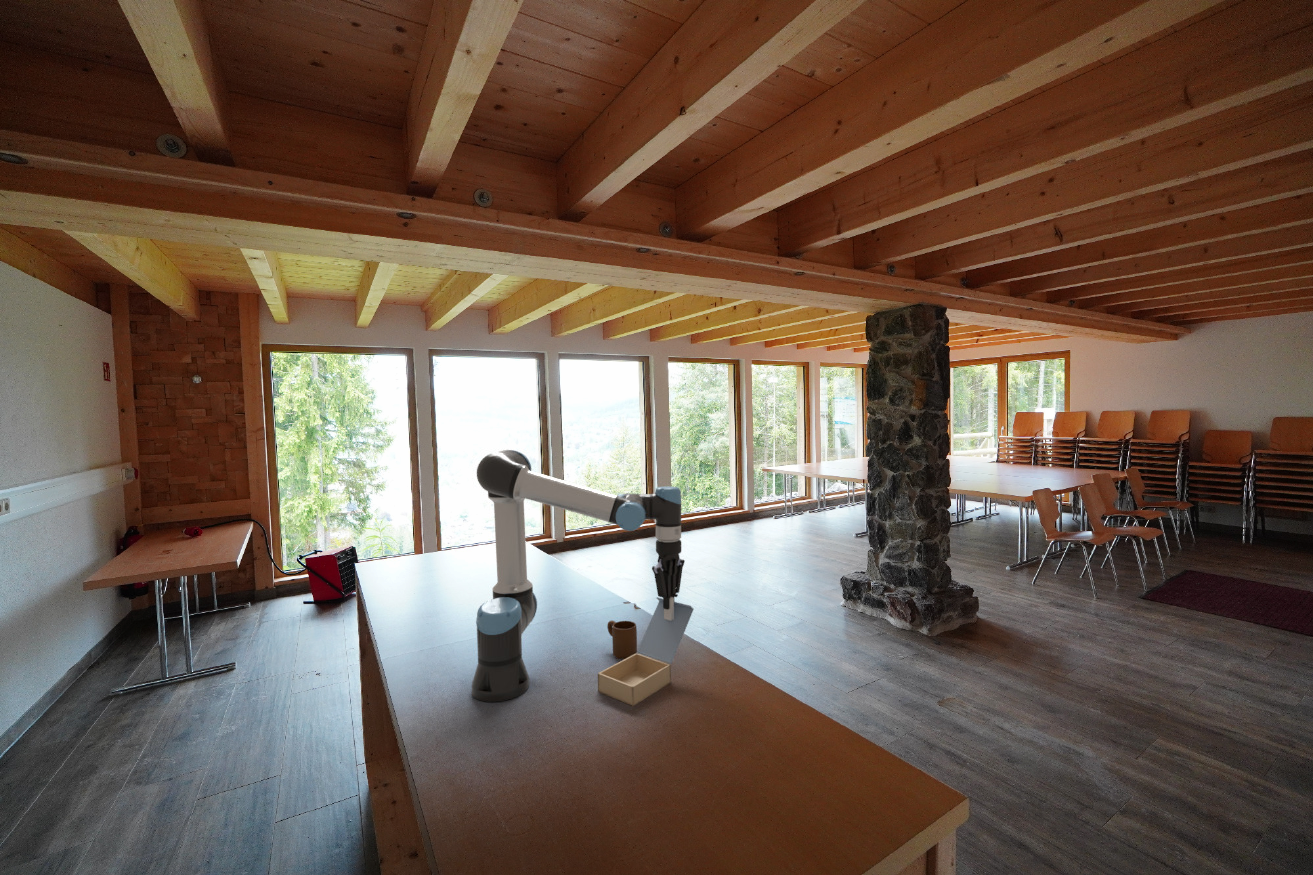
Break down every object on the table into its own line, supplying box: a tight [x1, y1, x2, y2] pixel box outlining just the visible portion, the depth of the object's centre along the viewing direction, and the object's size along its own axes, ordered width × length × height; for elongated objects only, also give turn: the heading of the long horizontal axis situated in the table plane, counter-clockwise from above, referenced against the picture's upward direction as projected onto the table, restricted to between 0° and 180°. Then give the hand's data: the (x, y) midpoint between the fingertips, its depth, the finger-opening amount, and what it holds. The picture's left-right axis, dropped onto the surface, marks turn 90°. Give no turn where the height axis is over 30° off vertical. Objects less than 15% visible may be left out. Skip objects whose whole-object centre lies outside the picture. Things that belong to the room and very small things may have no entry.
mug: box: [606, 620, 638, 660], centre depth 173 cm, size 12×8×9 cm, turn 43°
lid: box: [637, 597, 694, 665], centre depth 161 cm, size 17×13×2 cm
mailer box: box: [597, 652, 672, 707], centre depth 151 cm, size 16×13×5 cm
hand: (668, 618), depth 162 cm, fingers closed
